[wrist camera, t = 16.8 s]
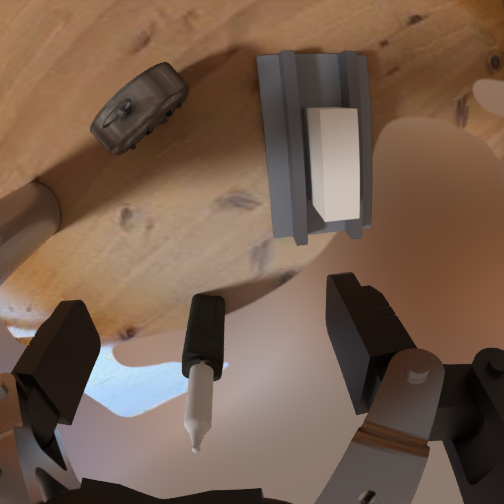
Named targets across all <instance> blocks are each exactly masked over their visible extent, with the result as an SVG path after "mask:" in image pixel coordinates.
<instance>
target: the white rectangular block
mask: <svg viewBox="0 0 504 504" xmlns="http://www.w3.org/2000/svg"><path fill="white" fill-rule="evenodd" d="M303 116H304V128H305V140H306V154H307V169H308V186H309V200H310V202H311V203H312V204H313V206H314V207H315V209H316V210H317V211H318V213H319V214H320V215H321V217H322V218H323V220H324V221H325V222H330V221H339V220H349V219H358V218H359V215H360V163H359V132H358V114H357V109H354V108H341V107H319V108H303Z"/></svg>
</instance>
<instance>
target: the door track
mask: <svg viewBox="0 0 504 504" xmlns="http://www.w3.org/2000/svg"><path fill="white" fill-rule="evenodd" d="M256 62H257V71H258V80H259V89H260V99H261V108H262V118H263V128H264V138H265V148H266V158H267V169H268V179H269V191H270V202H271V213H272V225H273V236H274V238H281V237H290V236H293V237H294V239H295V242H296V244H297V246H298V245H307V244H308V234H317V233H327V232H336V231H346V232H347V234H348V235H349V236H350V238H351V239H359V238H362V229H363V228H371V212H372V125H371V104H370V89H369V77H368V66H367V56H365V55H357V54H356V51H343V52H341V53H338V54H295V53H294V50H283V51H281V52H280V53H279V54H278V55H263V56H256ZM319 107H341V108H354V109H357V114H358V132H359V163H360V215H359V218H358V219H349V220H339V221H330V222H325V221H324V220H323V218H322V217H321V215H320V214H319V213H318V211H317V210H316V209H315V207H314V206H313V204H312V203H311V202H310V200H309V186H308V169H307V154H306V140H305V128H304V116H303V108H319Z"/></svg>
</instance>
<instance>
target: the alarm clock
mask: <svg viewBox="0 0 504 504" xmlns="http://www.w3.org/2000/svg"><path fill="white" fill-rule="evenodd" d="M188 93H189V86H188V84H187V83H186V82H185V81H184V80H183V79H182V77H181V76H180V75H179V74H178V73H177V72H176V71H175V70H174V69H173V67H172V66H171V65H170V64H169V63H167V62H163V63H160V64H157V65H155V66H153V67H151V68H149V69H147V70H146V71H144V72H143V73H141V74H140V75H138V76H137V77H136V78H134V79H133V80H131V81H130V82H129V83H127V84H126V85H125V86H124V87H123V88H122V89H120V90H119V91H118V92H117V93H116V94H115V95H114V96H113V97H112V98H111V99H110V100H109V101H108V102H107V103H106V104H105V106H104V107H103V108H102V109H101V110H100V112H99V113H98V114H97V116H96V117H95V119H94V120H93V122H92V123H91V126H90V132H91V133H92V134H93V135H94V136H95V137H96V138H97V139H98V140H99V141H100V143H101V144H102V145H103V146H104V147H105V148H106V149H107V150H108V151H109V153H111V154H113V155H120V154H123V153H125V152H126V151H128V150H129V149H130V148H132V150H134V149H135V148H136V146H135V144H136V143H138V142H139V141H140V140H141V139H142V138H143V137H145V136H146V135H149V134H150V133H152V130H153V129H154V128H155V127H156V126H157V125H159V124H160V123H161V124H166V123H167V120H165V118H166V117H170V116H171V115H172V114H173V111H174V110H175V109H176V108H181V107H182V105H181V104H182V103H183V101H184V100H185V99H186V98H187V96H188Z"/></svg>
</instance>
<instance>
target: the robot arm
mask: <svg viewBox="0 0 504 504" xmlns="http://www.w3.org/2000/svg"><path fill="white" fill-rule="evenodd" d="M59 224H60V208H59V204H58V202H57V199H56V198H55V196H54V194H53V193H52V192H51V190H50V189H48V188H47V187H46V186H44V185H42V184H40V183H29V184H26V185H25V186H23V187H21V188H19V189H17V190H15V191H13V192H12V193H10V194H8V195H6V196H4V197H3V198H1V199H0V286H1V285H2V284H3V283H4V282H5V281H6V279H7V278H8V277H9V276H10V275H11V274H12V273H13V272H14V271H15V270H16V269H17V268H18V267H19V266H20V265H21V264H22V263H23V262H24V261H25V260H27V259H28V258H29V257H30V256H31V255H32V254H33V253H34V252H35V251H36V250H37V249H38V248H39V247H40V246H41V245H43V244H44V243H45V242H46V241H47V240H48V239H49V238H50V237H51V236H52V235H53V234H54V233H55V232H56V231H57V229H58V227H59ZM326 326H327V331H328V334H329V338H330V340H331V343H332V346H333V349H334V351H335V354H336V357H337V360H338V363H339V366H340V368H341V371H342V374H343V377H344V379H345V383H346V386H347V388H348V392H349V394H350V398H351V400H352V403H353V406H354V409H355V412H356V415H359V414H364V413H368V414H367V416H366V418H365V421H364V422H363V424H362V426H361V427H359V429H358V430H357V432H356V433H355V435H354V437H353V439H352V441H351V443H350V444H349V446H348V448H347V450H346V452H345V453H344V456H343V457H342V459H341V461H340V463H339V464H338V466H337V468H336V470H335V471H334V473H333V475H332V476H331V478H330V480H329V481H328V483H327V484H326V486H325V488H324V489H323V491H322V493H321V494H320V496H319V497H318V499H317V500H316V502H315V503H314V504H411V502H412V500H413V498H414V495H415V493H416V490H417V488H418V485H419V482H420V479H421V477H422V474H423V471H424V468H425V466H426V463H427V460H428V456H429V451H430V448H429V446H427V443H428V441H439V440H442V441H443V444H444V447H445V449H446V452H447V455H448V457H449V460H450V463H451V466H452V468H453V471H454V474H455V477H456V480H457V483H458V486H459V489H460V492H461V496H462V498H463V502H464V504H504V350H501V349H498V348H486V349H483V350H481V351H480V352H478V353H477V354H476V356H475V358H474V360H473V362H472V364H455V365H454V364H452V365H448V364H442V362H441V361H440V359H439V358H438V357H437V356H435V355H434V354H432V353H431V352H429V351H426V350H423V349H417V347H416V345H415V344H414V342H413V341H412V339H411V337H410V336H409V334H408V333H407V331H406V329H405V328H404V326H403V325H402V323H401V322H400V320H399V318H398V317H397V316H395V312H394V311H393V309H392V308H391V307H390V306H389V303H388V302H387V300H386V299H385V297H384V296H383V294H382V293H380V292H379V291H377V290H376V289H374V288H373V287H371V286H362V287H361V285H360V283H359V282H358V280H357V279H356V277H355V275H354V274H353V273H352V272H346V273H339V274H331V275H328V276H327V288H326ZM29 344H30V345H28V346H27V348H26V349H25V351H24V353H23V354H22V356H21V357H20V359H19V361H18V362H17V364H16V366H15V367H14V369H13V371H12V372H11V374H10V373H1V374H0V504H292V503H289V502H286V501H281V500H277V499H271V498H264V496H263V493H262V489H261V488H256V489H241V490H212V491H207V492H202V493H198V494H193V495H187V496H182V497H176V498H170V499H159V498H155V497H153V496H150V495H147V494H144V493H141V492H138V491H135V490H133V489H131V488H128V487H125V486H123V485H120V484H115V483H109V482H103V481H97V480H92V479H87V478H82V483H80V482H79V480H78V479H77V477H76V475H75V473H74V471H73V468H72V466H71V463H70V461H69V458H68V455H67V453H66V450H65V447H64V445H63V442H62V439H61V436H60V434H59V432H58V431H57V430H56V429H55V428H56V426H57V423H59V424H65V425H71V424H72V422H73V419H74V416H75V413H76V410H77V408H78V405H79V402H80V400H81V397H82V395H83V392H84V389H85V387H86V384H87V382H88V379H89V377H90V374H91V372H92V369H93V367H94V365H95V362H96V360H97V357H98V355H99V353H100V348H101V342H100V337H99V334H98V332H97V330H96V328H95V326H94V323H93V321H92V319H91V317H90V315H89V312H88V310H87V308H86V305H85V304H84V302H83V301H81V300H70V301H61V302H60V303H59V304H58V306H57V307H56V309H55V310H54V312H53V313H52V315H51V316H50V318H48V319H47V320H46V321H45V322H44V323H43V324H42V325H41V326H40V327H39V329H38V330H37V332H36V334H35V337H33V338H32V340H31V341H30V343H29Z"/></svg>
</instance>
